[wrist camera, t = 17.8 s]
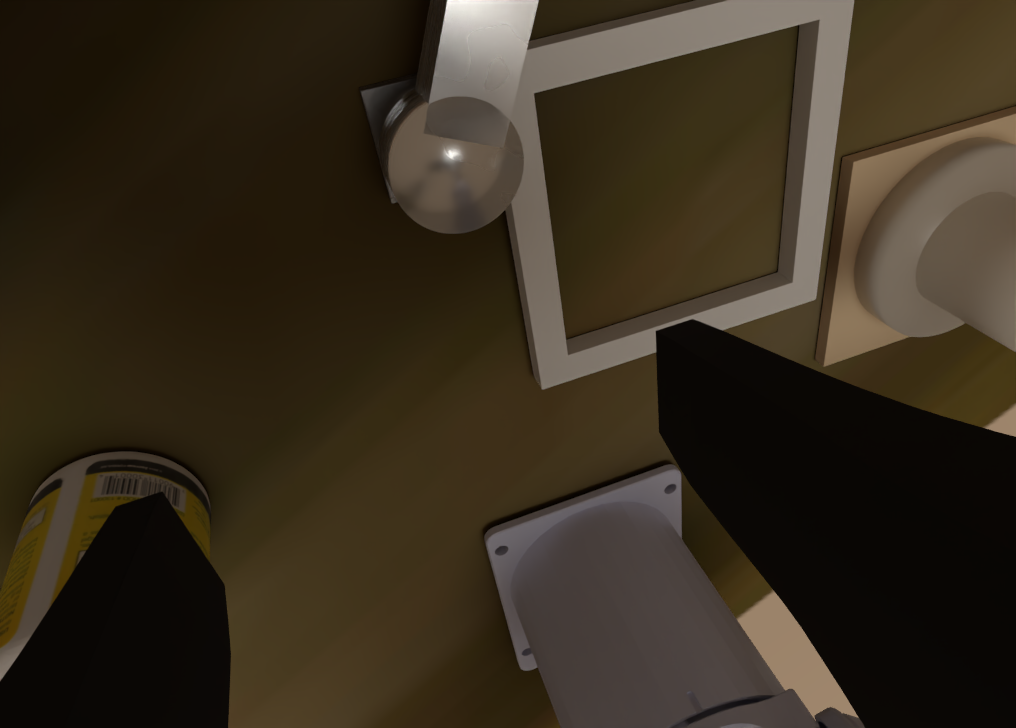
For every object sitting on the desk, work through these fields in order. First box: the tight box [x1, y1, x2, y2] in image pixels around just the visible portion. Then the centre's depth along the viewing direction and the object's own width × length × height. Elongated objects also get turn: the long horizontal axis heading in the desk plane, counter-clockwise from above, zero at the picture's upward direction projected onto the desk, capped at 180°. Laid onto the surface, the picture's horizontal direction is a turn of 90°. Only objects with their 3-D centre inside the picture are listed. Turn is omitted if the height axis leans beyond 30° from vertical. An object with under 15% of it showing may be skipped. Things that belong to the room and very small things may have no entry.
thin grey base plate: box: [359, 73, 418, 204], centre depth 17 cm, size 3×3×2 cm
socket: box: [505, 0, 854, 390], centre depth 20 cm, size 10×10×1 cm
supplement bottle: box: [0, 451, 211, 681], centre depth 17 cm, size 5×5×8 cm
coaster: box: [815, 106, 1016, 367], centre depth 25 cm, size 8×8×1 cm
